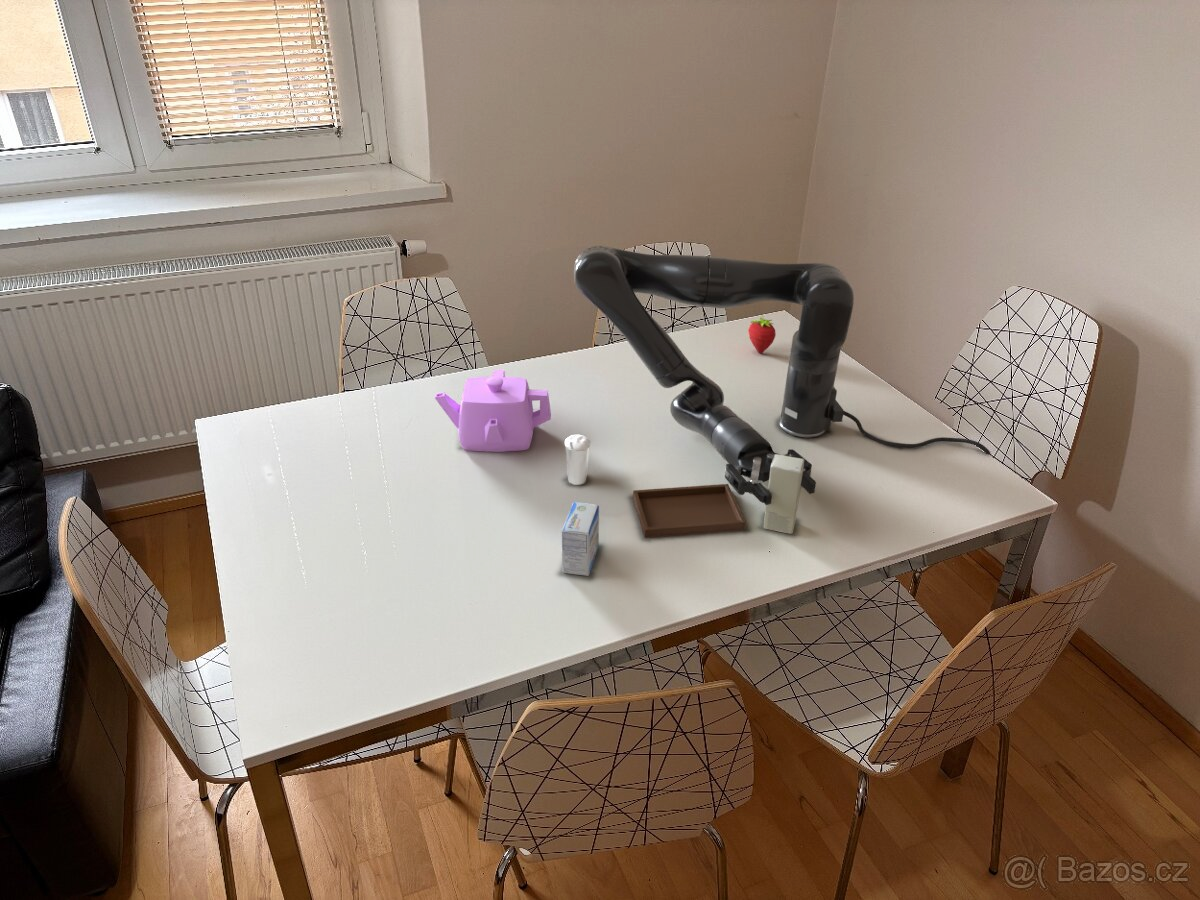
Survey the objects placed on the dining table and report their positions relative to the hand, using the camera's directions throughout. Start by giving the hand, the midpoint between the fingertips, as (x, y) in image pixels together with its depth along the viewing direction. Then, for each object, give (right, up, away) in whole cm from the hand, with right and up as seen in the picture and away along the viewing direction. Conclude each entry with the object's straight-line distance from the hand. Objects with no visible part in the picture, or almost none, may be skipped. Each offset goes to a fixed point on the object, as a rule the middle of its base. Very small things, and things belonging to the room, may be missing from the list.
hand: (791, 494), depth 145 cm
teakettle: (-52, +10, +28) cm, 60 cm away
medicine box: (-35, -11, -3) cm, 36 cm away
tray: (-16, -4, +8) cm, 19 cm away
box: (-1, -6, +6) cm, 8 cm away
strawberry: (+6, +30, +61) cm, 68 cm away
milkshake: (-36, +1, +15) cm, 39 cm away
